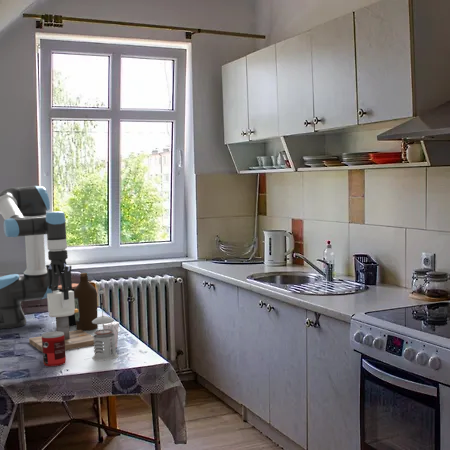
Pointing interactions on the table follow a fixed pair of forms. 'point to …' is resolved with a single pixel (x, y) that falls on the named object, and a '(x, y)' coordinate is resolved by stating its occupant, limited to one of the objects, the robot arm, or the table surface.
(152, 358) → the table surface
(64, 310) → the cap
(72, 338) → the post board
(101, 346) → the french press
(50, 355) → the canned food
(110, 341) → the smoothie
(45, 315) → the table surface
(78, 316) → the olive oil
